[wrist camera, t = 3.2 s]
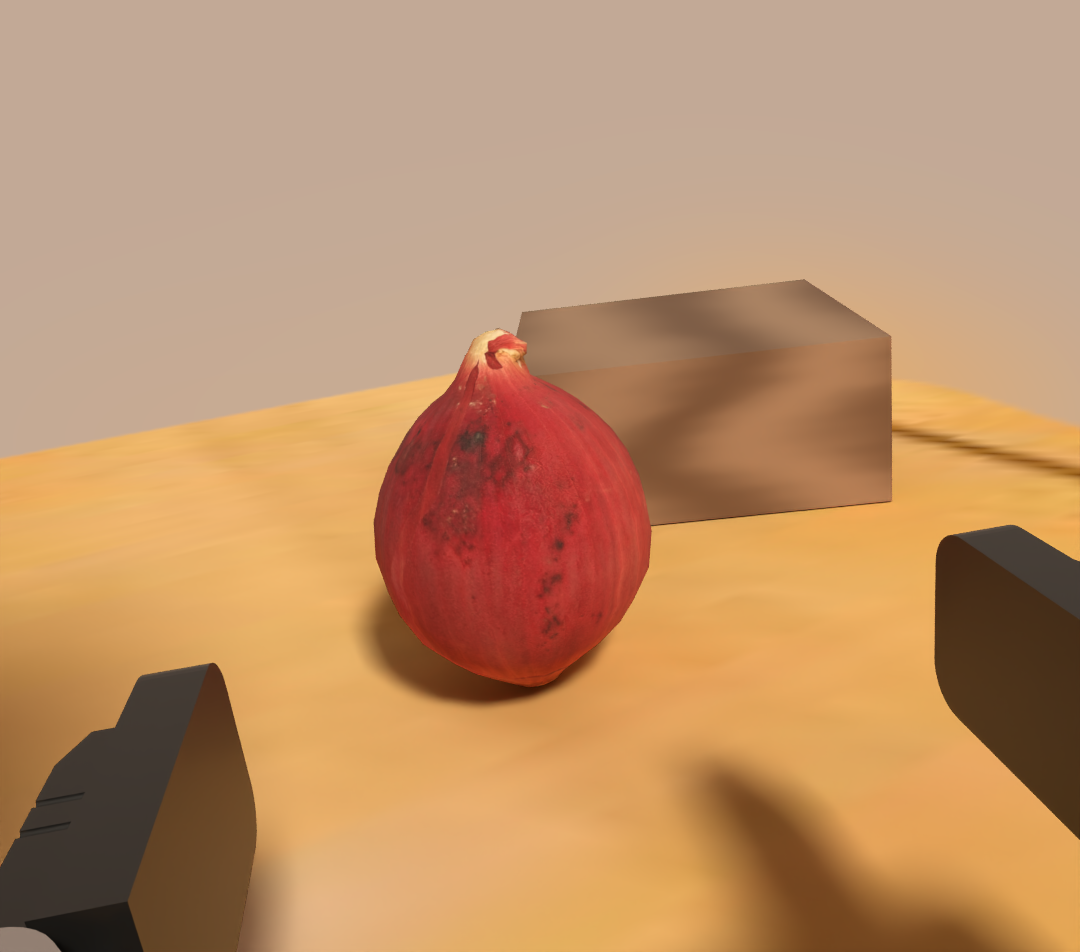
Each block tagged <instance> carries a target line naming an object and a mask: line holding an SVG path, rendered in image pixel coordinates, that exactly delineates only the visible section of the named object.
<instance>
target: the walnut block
mask: <svg viewBox="0 0 1080 952" xmlns="http://www.w3.org/2000/svg"><path fill="white" fill-rule="evenodd" d="M516 337H517V338H519V339H520V340H522V341H524V342H526V343H527V354H525V355H524V356H523V358H524V360H525V363H526V365H527V368H528V370H529V373H530V374H531V375H533V376H535V377H537V378H540V379H542V380H544V381H546V382H548V383H551V384H553V385H555V386H557V387H559V388H561V389H563V390H564V391H566V392H568V393H569V394H571V395H573V396H574V397H576V398H578V399H579V400H580V401H582V402H583V403H584V404H585V405H587V406H588V407H589V408H590V409H592V410H593V411H594V412H595V413H596V414H597V415H598V416H599V417H601V418H602V419H603V420H604V421H605V422H606V423H607V424H608V425H609V426H610V427H611V428H612V429H613V431H614V432H615V433H616V435H617V436H618V437H619V439H620V440H621V441H622V443H623V444H624V446H625V447H626V448H627V450H628V452H629V454H630V457H631V459H632V461H633V463H634V465H635V467H636V469H637V471H638V473H639V476H640V480H641V484H642V487H643V491H644V495H645V499H646V504H647V510H648V515H649V520H650V525H658V524H668V523H678V522H687V521H697V520H707V519H717V518H727V517H737V516H747V515H757V514H766V513H776V512H786V511H796V510H806V509H816V508H826V507H836V506H846V505H855V504H865V503H875V502H885V501H892V393H891V336H890V335H888V334H887V333H885V332H884V331H882V330H881V329H879V328H878V327H876V326H875V325H873V324H872V323H870V322H869V321H867V320H865V319H864V318H862V317H861V316H859V315H858V314H856V313H855V312H853V311H852V310H850V309H849V308H847V307H846V306H844V305H842V304H841V303H839V302H837V301H836V300H835V299H833V298H832V297H830V296H829V295H827V294H826V293H824V292H822V291H821V290H820V289H818V288H816V287H815V286H813V285H812V284H810V283H809V282H807V281H806V280H796V281H787V282H779V283H770V284H761V285H752V286H744V287H735V288H727V289H718V290H709V291H701V292H692V293H683V294H675V295H666V296H657V297H649V298H640V299H632V300H623V301H614V302H607V303H597V304H588V305H580V306H572V307H563V308H554V309H546V310H537V311H528V312H522V315H521V319H520V323H519V327H518V331H517V336H516Z"/></svg>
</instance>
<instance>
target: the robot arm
mask: <svg viewBox="0 0 1080 952" xmlns="http://www.w3.org/2000/svg"><path fill="white" fill-rule="evenodd" d="M935 669H936V675H937V679H938V683H939V686H940V689H941V692H942V694H943V696H944V698H945V701H946V702H947V704H948V706H949V707H950V709H951V710H952V712H953V713H954V714H955V715H956V716H957V718H958V719H959V720H960V721H961V722H962V723H963V724H964V725H965V726H966V727H967V728H968V729H969V730H970V731H971V732H972V733H973V734H974V735H975V736H976V737H977V738H978V739H979V740H980V741H981V742H982V743H983V744H984V745H985V746H986V747H987V748H988V749H989V750H990V751H991V752H992V753H993V754H994V755H995V756H996V757H997V758H998V759H999V760H1000V761H1001V762H1002V763H1003V764H1004V765H1005V766H1006V767H1007V768H1008V769H1009V770H1010V771H1011V772H1012V773H1013V774H1014V775H1015V776H1016V777H1017V778H1018V779H1019V780H1020V781H1021V782H1022V783H1023V784H1024V785H1025V786H1026V787H1027V788H1028V789H1029V790H1030V791H1031V792H1032V793H1033V794H1034V795H1035V796H1036V797H1037V798H1038V799H1039V800H1040V801H1041V802H1042V803H1043V804H1044V805H1045V806H1046V807H1047V808H1048V809H1049V810H1050V811H1051V812H1052V813H1053V814H1054V815H1055V816H1056V817H1057V818H1058V819H1059V820H1060V821H1061V822H1062V823H1063V824H1064V825H1065V826H1066V827H1067V828H1068V829H1069V830H1070V831H1071V832H1072V833H1073V834H1074V835H1075V836H1076V837H1077V838H1078V839H1079V840H1080V561H1077V560H1074V559H1072V558H1070V557H1069V556H1067V555H1065V554H1064V553H1062V552H1060V551H1059V550H1057V549H1055V548H1054V547H1052V546H1050V545H1049V544H1047V543H1045V542H1044V541H1042V540H1040V539H1039V538H1037V537H1035V536H1034V535H1032V534H1030V533H1029V532H1027V531H1025V530H1024V529H1022V528H1020V527H1018V526H1015V525H1006V526H1000V527H994V528H989V529H983V530H977V531H971V532H966V533H960V534H954V535H949V536H946V537H945V538H944V539H943V540H942V541H941V542H940V544H939V547H938V549H937V554H936V582H935ZM256 833H257V829H256V811H255V802H254V796H253V790H252V786H251V782H250V778H249V774H248V770H247V766H246V762H245V758H244V754H243V751H242V747H241V743H240V739H239V735H238V731H237V727H236V723H235V719H234V716H233V712H232V708H231V704H230V700H229V696H228V692H227V688H226V685H225V681H224V678H223V676H222V673H221V671H220V669H219V668H218V666H217V665H216V664H215V663H209V664H204V665H198V666H192V667H187V668H181V669H175V670H170V671H164V672H158V673H152V674H147V675H142V676H140V677H139V678H138V680H137V682H136V684H135V686H134V688H133V690H132V692H131V695H130V697H129V699H128V701H127V703H126V705H125V707H124V710H123V712H122V714H121V716H120V718H119V720H118V722H117V725H116V727H115V728H110V729H105V730H99V731H94V732H91V733H90V734H89V735H88V736H87V737H86V738H85V739H84V740H82V741H81V742H80V743H79V744H78V745H77V746H76V747H75V748H74V749H73V750H71V751H70V752H69V753H68V754H67V755H66V756H65V757H64V758H63V759H62V760H60V761H59V762H58V763H57V764H56V765H55V766H54V768H53V770H52V772H51V774H50V775H49V777H48V779H47V781H46V783H45V785H44V787H43V788H42V790H41V792H40V794H39V796H38V798H37V800H36V808H32V809H31V811H30V813H29V815H28V816H27V818H26V820H25V822H24V824H23V826H22V828H21V829H20V838H18V839H15V841H14V843H13V844H12V846H11V848H10V850H9V852H8V854H7V856H6V857H5V859H4V861H3V863H2V865H1V867H0V952H236V950H237V945H238V939H239V934H240V929H241V923H242V918H243V913H244V907H245V902H246V897H247V891H248V886H249V881H250V875H251V870H252V865H253V859H254V854H255V848H256Z"/></svg>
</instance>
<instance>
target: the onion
mask: <svg viewBox="0 0 1080 952" xmlns="http://www.w3.org/2000/svg"><path fill="white" fill-rule="evenodd" d="M525 354H527V343H526V342H524V341H522V340H520V339H519V338H517V337H516V336H514V335H513V334H511V333H509V332H507V331H505V330H502V329H499V328H497V329H495V330H494V331H487V332H485V333H483V334H482V335H480V336H478V337H477V338H475V339H474V340H473V341H472V344H471V346H470V348H469V351H468V353H467V354H466V355H465V358H464V360H463V362H462V364H461V367H460V369H459V371H458V374H457V376H456V378H455V380H454V381H453V383H452V384H451V385H450V387H449V388H448V389H447V391H446V392H445V393H444V394H443V395H442V396H440V397H439V398H438V399H437V400H435V401H434V402H433V403H432V404H431V405H430V406H429V407H428V408H427V409H426V410H425V411H424V412H423V413H422V414H421V415H420V416H419V417H418V419H417V420H416V421H415V423H414V424H413V426H412V427H411V428H410V430H409V431H408V433H407V434H406V436H405V437H404V439H403V441H402V443H401V445H400V447H399V448H398V450H397V452H396V454H395V456H394V457H393V459H392V461H391V463H390V465H389V467H388V470H387V472H386V475H385V478H384V481H383V483H382V486H381V489H380V492H379V497H378V503H377V508H376V513H375V518H374V535H375V552H376V560H377V563H378V565H379V568H380V571H381V573H382V576H383V579H384V582H385V584H386V587H387V590H388V592H389V595H390V597H391V599H392V601H393V603H394V605H395V607H396V609H397V611H398V613H399V615H400V617H401V618H402V619H403V620H404V621H405V623H406V624H407V625H408V626H409V628H410V629H411V630H412V631H413V632H414V634H415V635H416V636H417V637H418V639H419V640H420V641H421V642H422V643H423V645H425V646H427V647H428V648H430V649H431V650H433V651H435V652H436V653H438V654H439V655H441V656H443V657H444V658H446V659H447V660H449V661H451V662H452V663H454V664H456V665H458V666H460V667H462V668H464V669H467V670H469V671H471V672H473V673H475V674H478V675H482V676H485V677H488V678H492V679H495V680H499V681H504V682H508V683H512V684H516V685H520V686H526V687H536V686H541V685H544V684H547V683H549V682H551V681H553V680H555V679H557V677H558V676H559V675H560V673H561V672H562V671H563V670H565V669H566V668H567V667H568V666H570V665H571V664H572V663H574V662H575V661H576V660H578V659H579V658H580V657H582V656H583V655H584V654H585V653H587V652H588V651H589V650H591V649H592V648H593V647H595V646H596V645H597V644H598V643H600V642H601V641H602V640H603V639H604V638H605V637H606V636H607V635H608V633H609V632H610V631H611V630H612V629H613V628H614V627H615V626H616V625H617V624H618V623H619V622H620V621H621V619H622V618H623V616H624V614H625V613H626V611H627V609H628V608H629V606H630V605H631V603H632V601H633V600H634V598H635V595H636V593H637V591H638V589H639V587H640V585H641V583H642V581H643V578H644V576H645V574H646V572H647V570H648V568H649V558H650V545H651V532H652V530H651V525H650V520H649V515H648V510H647V504H646V499H645V495H644V491H643V487H642V484H641V480H640V476H639V473H638V471H637V469H636V467H635V465H634V463H633V461H632V459H631V457H630V454H629V452H628V450H627V448H626V447H625V446H624V444H623V443H622V441H621V440H620V439H619V437H618V436H617V435H616V433H615V432H614V431H613V429H612V428H611V427H610V426H609V425H608V424H607V423H606V422H605V421H604V420H603V419H602V418H601V417H599V416H598V415H597V414H596V413H595V412H594V411H593V410H592V409H590V408H589V407H588V406H587V405H585V404H584V403H583V402H582V401H580V400H579V399H578V398H576V397H574V396H573V395H571V394H569V393H568V392H566V391H564V390H563V389H561V388H559V387H557V386H555V385H553V384H551V383H548V382H546V381H544V380H542V379H540V378H537V377H535V376H533V375H531V374H530V373H529V370H528V368H527V365H526V363H525V360H524V358H523V356H524V355H525Z"/></svg>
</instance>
